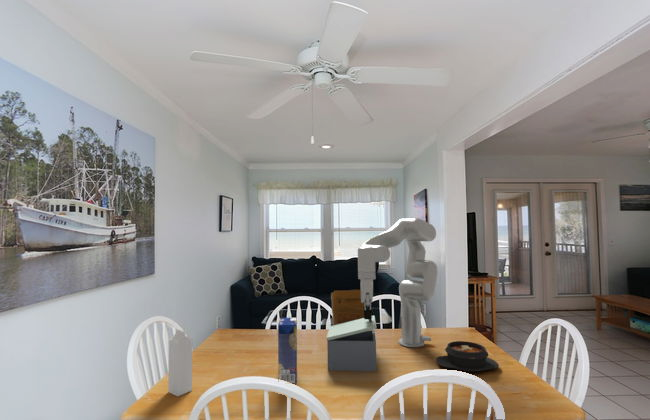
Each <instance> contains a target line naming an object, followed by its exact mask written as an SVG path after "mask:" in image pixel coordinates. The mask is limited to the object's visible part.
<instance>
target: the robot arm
mask: <svg viewBox="0 0 650 420" xmlns="http://www.w3.org/2000/svg"><path fill="white" fill-rule="evenodd" d="M436 237H437V230H436V227H434V225H433V224H431V223H429V222H427V221H425V220H424V219H421V218H417V217H413V218H412V217H410V218H400V219H398V220H397V221H396V222H395V223H394V224H393V225H391V227H390V228H388V229H387V230H386V231H384V232H381V233H380V234H379V233H378V234H377V235H375V236H372V237H370V238H369V239H367V240H366V241H365V242H364V243H363V244H362V245H361V246H360V247H358V248H357V277H358V278H357V279H358V280H360V290H361V303H363V302H364V309H365V310H364V319H372V316H373V313H372V312H373V311H372V310H373V309H372V303H373V298H374V297H373V296H374V280H376V279H377V277H376V263H385V262H387V261H388V260H389V259H390V258H391V257H390V256H391V252H390V249H391V248H395V247H398V246H399V245H401V243H402V242H403V241H404V240H405V241H406V243H407V246H408V255H407V260H406V265H405V274H406V276H407V277H409V278H411V279H405V280H401V282H400V283H399V286H398V292H399V300H400V305H401V306H400V311H401V313H400V315H401V316H400V317H401V321H400V322H401V338H399V339H398V344H399V345H400V346H402V347H407V348H421V347H424V345H425V341H426V342H431V341H432V337H431V336H428V335H422V315H421V314H422V311H421V305H420V303H419V302H425V303H426V302H427V303H428V302H431V301H432V300H433V299H434V296H435V291H436V285H437V279H438V273H439V271H438V266H437V264H436V263H435V262H434V261H433V260H427V259H426V252H427V251H426V249H425V246H424V244H423V243H422V242H426V243H427V242H429V243H430V242H433V241H435V239H436ZM414 279H415V280H414ZM416 279H420V280H416ZM422 280H423V281H422Z"/></svg>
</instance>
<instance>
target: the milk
mask: <svg viewBox="0 0 650 420" xmlns="http://www.w3.org/2000/svg"><path fill="white" fill-rule="evenodd" d="M167 363H168V366H167V367H168V368H167V369H168V371H167V373H168V374H167V376H168V377H167V379H168V380H167V381H168V387H167V389H168V393H169V394H172V395H174V396H175V397H177V398H178V397H179V396H182V395H184V394H187V393H189V392H191V391H193V338H192V337H189V336H186V332H185V331H184V330H180V329H175V334H173V335H172V336H171V337H170V338H169V339H168V362H167Z"/></svg>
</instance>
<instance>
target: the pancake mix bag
mask: <svg viewBox="0 0 650 420" xmlns="http://www.w3.org/2000/svg"><path fill="white" fill-rule="evenodd" d="M330 299H331V314H332V321H333V325H337V324H341V323H345V322H349V321H354V320H358V319H362V318H364V302H363V303H361V289H346V290H333V292H331V293H330Z"/></svg>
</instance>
